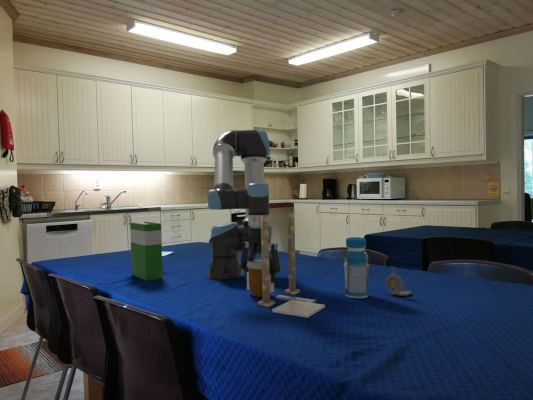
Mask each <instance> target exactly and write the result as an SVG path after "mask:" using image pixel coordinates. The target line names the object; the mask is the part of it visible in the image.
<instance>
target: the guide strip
mask: <svg viewBox="0 0 533 400" xmlns="http://www.w3.org/2000/svg"><path fill="white" fill-rule="evenodd" d="M275 298H276V299H277V300H282V301H283V300H284V301H290V300H294V301H301V302H308V303H316V301H317V299H311V298H304V297H297V296H289V295H282V294H277V295H276V296H275Z"/></svg>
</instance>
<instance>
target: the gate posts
mask: <svg viewBox="0 0 533 400" xmlns="http://www.w3.org/2000/svg"><path fill="white" fill-rule="evenodd" d="M286 214H287V249H288V252H287V253H288V254H287V255H288V256H287V257H288V258H287V259H288V260H287V262H288V288H287V289H285V290H284V294H287V295H297V294H298V293H301V289H300V288H296V287H297V286H296V248H295V247H296V246H295V245H296V244H295V243H296V241H295V239H296V238H295V235H296V234H295V212H292V211H290V212H287V213H286ZM261 244H262V254H261V259H262V290H263V296H262V300H259V301H257V305H258V306H260V307H261V306H262V307H265V308H266V307H268V308H269V307H272V306H273V305H275V304H276V300H272V299H271V293H270V273H269V252H270V248H269V227H268V215H262V216H261Z"/></svg>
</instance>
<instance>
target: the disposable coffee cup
mask: <svg viewBox="0 0 533 400" xmlns="http://www.w3.org/2000/svg"><path fill="white" fill-rule="evenodd" d="M246 265H247V267H248V273H249V279H250V286H251V290H250V293H251V296H253V297H263V290H262V258H255V259H254V261H249V260H248V262H247V264H246ZM269 273H270V272H269Z"/></svg>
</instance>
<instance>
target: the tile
mask: <svg viewBox="0 0 533 400" xmlns="http://www.w3.org/2000/svg"><path fill="white" fill-rule="evenodd" d="M325 307H326V305H325V304H322V303H321V304H320V303H316V302H315V303H308V302H301V301H294V300H287V302H285V303H283V304H280V305H279V306H276V307H274V308H272V309H271V311H272V313H277V314H283V315H290V316H296V317H303V318H309V317H311V316H313V315H315V314H317V312H319V311H321V310H322V309H324V308H325Z"/></svg>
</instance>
